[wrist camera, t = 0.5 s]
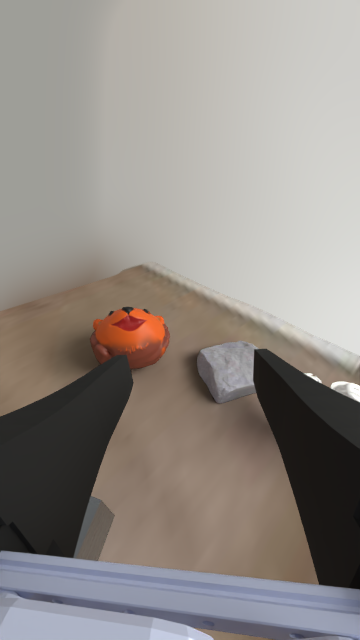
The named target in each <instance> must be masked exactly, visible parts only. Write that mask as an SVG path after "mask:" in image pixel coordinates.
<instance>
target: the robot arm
mask: <svg viewBox="0 0 360 640" xmlns="http://www.w3.org/2000/svg"><path fill="white" fill-rule="evenodd" d="M253 382H254V386H255V390H256V393H257V396H258V399H259V402H260V404H261V406H262V409H263V411H264V413H265V416H266V418H267V420H268V423H269V425H270V427H271V430H272V432H273V434H274V437H275V439H276V442H277V444H278V447H279V449H280V452H281V455H282V459H283V462H284V465H285V468H286V471H287V474H288V477H289V481H290V484H291V487H292V490H293V493H294V497H295V500H296V503H297V507H298V510H299V514H300V517H301V521H302V524H303V527H304V531H305V534H306V538H307V542H308V545H309V549H310V552H311V556H312V560H313V563H314V567H315V571H316V574H317V578H318V582H319V585H315V584H305V583H296V582H287V581H278V580H268V579H259V578H250V577H241V576H232V575H222V574H213V573H204V572H195V571H186V570H176V569H167V568H158V567H149V566H140V565H130V564H121V563H112V562H103V561H94V560H84V559H75V558H73V557H74V553H75V549H76V546H77V542H78V538H79V535H80V531H81V527H82V524H83V520H84V516H85V513H86V510H87V506H88V503H89V500H90V496H91V493H92V490H93V487H94V484H95V481H96V477H97V474H98V471H99V468H100V465H101V462H102V460H103V457H104V454H105V451H106V448H107V446H108V443H109V441H110V438H111V436H112V434H113V432H114V430H115V427H116V425H117V423H118V421H119V419H120V417H121V415H122V412H123V410H124V408H125V406H126V404H127V401H128V399H129V396H130V393H131V390H132V386H133V379H132V375H131V370H130V366H129V362H128V358H127V355H116V356H114V357H112V358H111V359H109V360H107V361H106V362H104V363H103V364H101V365H100V366H98V367H96V368H95V369H93V370H92V371H90V372H89V373H87V374H86V375H84V376H82V377H81V378H79V379H77V380H76V381H74V382H72V383H71V384H69V385H67V386H66V387H64V388H62V389H60V390H58V391H56V392H55V393H53V394H51V395H49V396H47V397H45V398H43V399H41V400H38V401H36V402H34V403H32V404H29V405H27V406H25V407H23V408H21V409H18V410H16V411H13V412H11V413H8V414H6V415H3V416H1V417H0V640H214V639H213V638H212V637H211V636H209V635H207V634H205V633H202V632H200V631H198V630H196V629H194V628H201V629H208V630H215V631H222V632H229V633H235V634H242V635H249V636H256V637H263V638H269V639H276V640H360V402H358V401H356V400H354V399H352V398H349V397H347V396H345V395H343V394H341V393H339V392H337V391H335V390H333V389H331V388H329V387H327V386H325V385H323V384H321V383H319V382H318V381H316V380H314V379H312V378H311V377H309V376H307V375H306V374H304V373H302V372H301V371H299V370H297V369H296V368H294V367H293V366H291V365H290V364H288V363H287V362H285V361H284V360H282V359H281V358H279V357H278V356H276V355H275V354H273V353H272V352H271V351H269V350H267V349H254V366H253ZM192 627H194V628H192Z"/></svg>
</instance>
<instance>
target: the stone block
mask: <svg viewBox="0 0 360 640" xmlns="http://www.w3.org/2000/svg"><path fill="white" fill-rule="evenodd" d="M254 349H258V348H257V347H255V346H254V345H253V344H249V343H247V342H244V341H238V342H235V343H234V342H229V343H224V344H221V345H217V346H213V347H210V348H209V347H208V348H205V349H202V350H201V351H200V352H199V354H198V358H197V367H198V372H199V375H200V376H201V378H202V379H203V381H204V382H205V383H206V384H207V386H208V389H209V391H210V393H211V394H212V396H213V397H214V399H215V401H216V402H217V403H225V402H228V401H231V400H234V399H237V398H240V397H243V396H247V395H249V394H253V393H256V390H255V386H254V382H253V366H254Z"/></svg>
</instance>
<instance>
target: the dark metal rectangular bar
mask: <svg viewBox="0 0 360 640" xmlns="http://www.w3.org/2000/svg"><path fill="white" fill-rule="evenodd" d="M114 516H115V515H114V514H113V513H112V512H111V511H110V509H109V508H108V507H107V506H106V505H105V504H104V503H103V502H102V501H101V500H100V499H97V498H94V497H92V496H90V500H89V503H88V506H87V510H86V513H85V516H84V520H83V524H82V527H81V531H80V535H79V538H78V542H77V546H76V549H75V553H74V557H73V558H75V559H84V560H94V561H98V559H99V556H100V554H101V551H102V548H103V545H104V543H105V540H106V537H107V535H108V532H109V529H110V527H111V524H112V521H113V519H114Z"/></svg>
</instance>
